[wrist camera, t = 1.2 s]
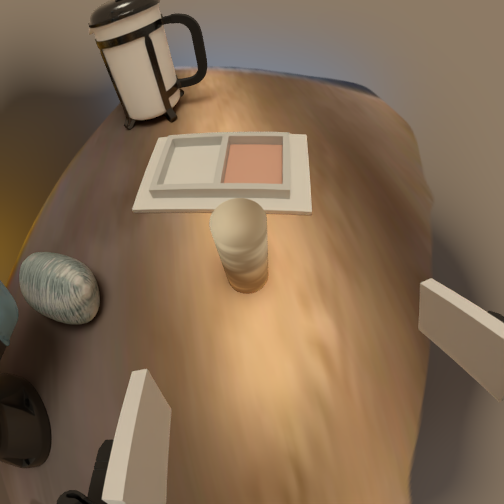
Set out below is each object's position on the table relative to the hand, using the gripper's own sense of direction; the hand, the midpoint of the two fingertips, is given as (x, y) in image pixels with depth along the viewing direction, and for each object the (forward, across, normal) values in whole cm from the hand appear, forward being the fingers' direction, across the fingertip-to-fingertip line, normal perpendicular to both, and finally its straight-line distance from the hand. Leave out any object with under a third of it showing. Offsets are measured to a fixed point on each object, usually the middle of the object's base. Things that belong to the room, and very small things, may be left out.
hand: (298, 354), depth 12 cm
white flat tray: (+36, +1, +8) cm, 37 cm away
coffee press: (+52, -8, +24) cm, 58 cm away
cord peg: (+24, 0, -5) cm, 24 cm away
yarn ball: (+26, -26, -2) cm, 37 cm away
